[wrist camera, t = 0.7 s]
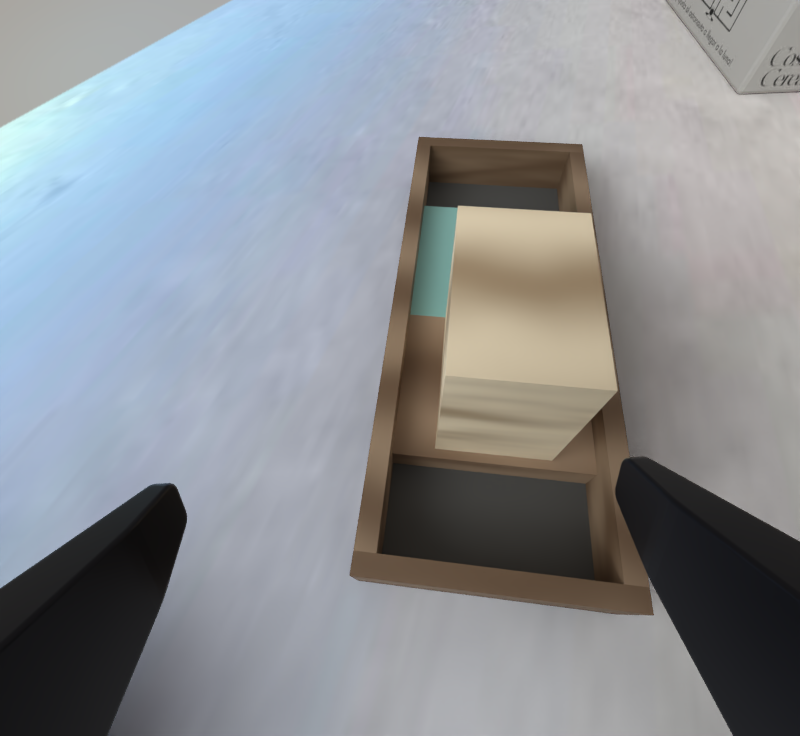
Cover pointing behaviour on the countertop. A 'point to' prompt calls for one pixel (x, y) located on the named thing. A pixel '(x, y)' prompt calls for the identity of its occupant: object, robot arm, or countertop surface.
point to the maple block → (523, 334)
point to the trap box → (476, 472)
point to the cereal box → (748, 40)
